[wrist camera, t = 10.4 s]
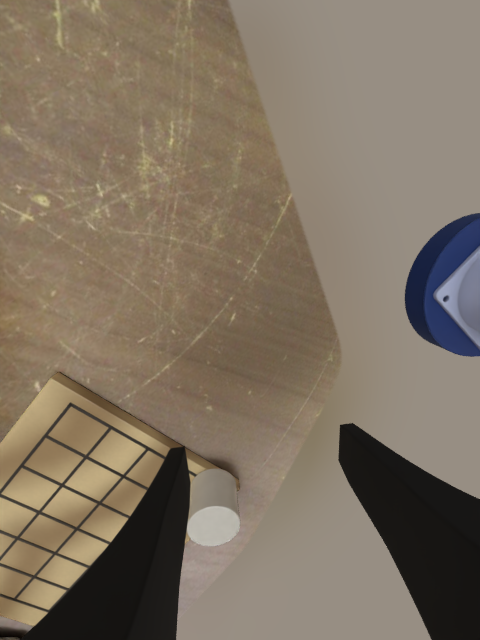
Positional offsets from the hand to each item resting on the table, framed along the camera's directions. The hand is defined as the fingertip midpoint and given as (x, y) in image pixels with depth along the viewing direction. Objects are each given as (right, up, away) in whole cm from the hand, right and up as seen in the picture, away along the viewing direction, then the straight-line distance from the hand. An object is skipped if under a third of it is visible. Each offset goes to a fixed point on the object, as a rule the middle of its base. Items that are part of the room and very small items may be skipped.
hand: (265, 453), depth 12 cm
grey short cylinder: (-3, -8, +11) cm, 14 cm away
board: (-16, -12, +11) cm, 23 cm away
